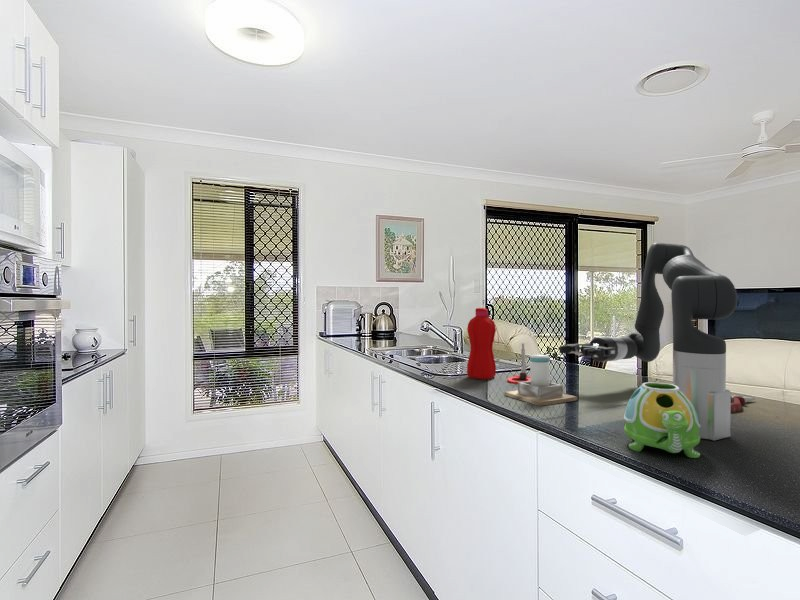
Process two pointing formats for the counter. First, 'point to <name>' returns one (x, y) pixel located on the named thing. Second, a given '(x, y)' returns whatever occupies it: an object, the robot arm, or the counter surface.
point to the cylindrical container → (539, 370)
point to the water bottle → (481, 346)
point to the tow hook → (523, 370)
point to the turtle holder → (662, 419)
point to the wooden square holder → (540, 394)
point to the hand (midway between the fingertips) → (571, 351)
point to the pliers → (739, 402)
